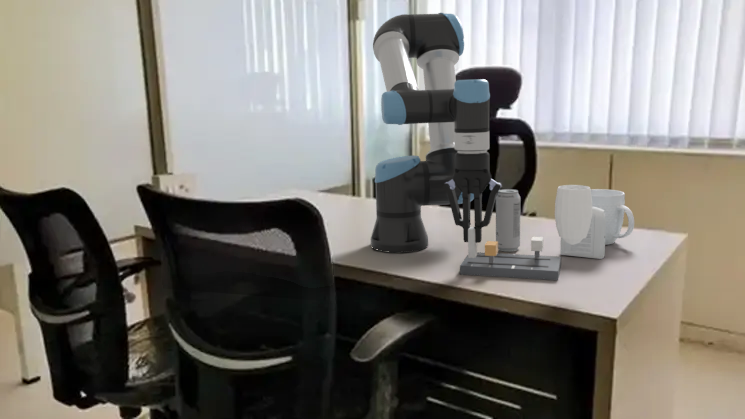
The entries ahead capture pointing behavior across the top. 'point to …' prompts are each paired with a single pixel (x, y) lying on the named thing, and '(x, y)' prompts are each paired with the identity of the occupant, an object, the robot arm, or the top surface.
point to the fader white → (537, 245)
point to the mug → (613, 212)
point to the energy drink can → (508, 220)
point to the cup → (573, 212)
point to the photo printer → (589, 239)
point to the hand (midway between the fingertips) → (472, 256)
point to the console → (513, 266)
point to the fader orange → (491, 250)
